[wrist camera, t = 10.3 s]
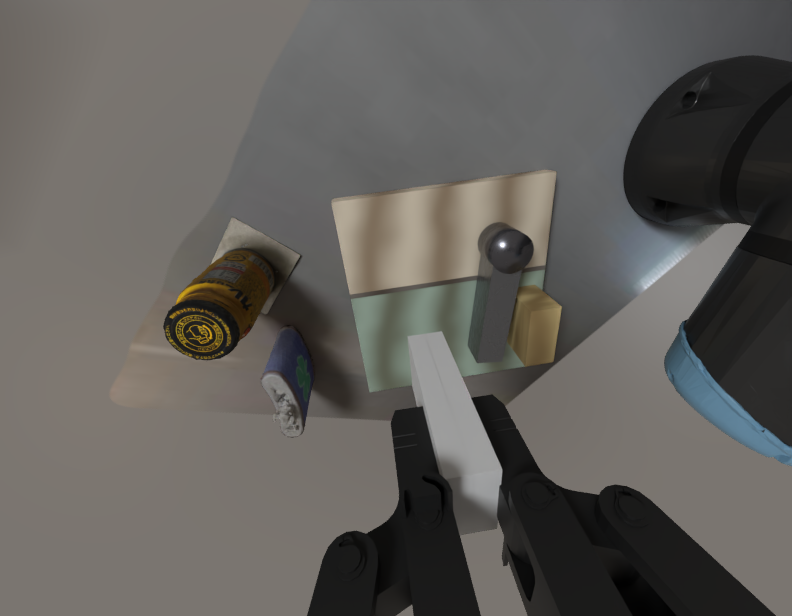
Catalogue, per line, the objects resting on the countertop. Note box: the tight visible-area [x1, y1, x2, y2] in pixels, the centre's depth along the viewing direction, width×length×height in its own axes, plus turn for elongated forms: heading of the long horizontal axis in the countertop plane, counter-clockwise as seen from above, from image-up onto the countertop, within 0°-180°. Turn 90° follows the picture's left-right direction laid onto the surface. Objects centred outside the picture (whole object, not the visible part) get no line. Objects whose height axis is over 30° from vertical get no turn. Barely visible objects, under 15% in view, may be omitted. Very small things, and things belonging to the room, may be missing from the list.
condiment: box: [163, 217, 300, 360], centre depth 29 cm, size 7×8×12 cm
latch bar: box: [467, 222, 534, 363], centre depth 34 cm, size 15×4×4 cm, turn 179°
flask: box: [261, 326, 315, 438], centre depth 36 cm, size 9×3×11 cm, turn 7°
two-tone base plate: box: [331, 170, 562, 392], centre depth 35 cm, size 22×24×8 cm
